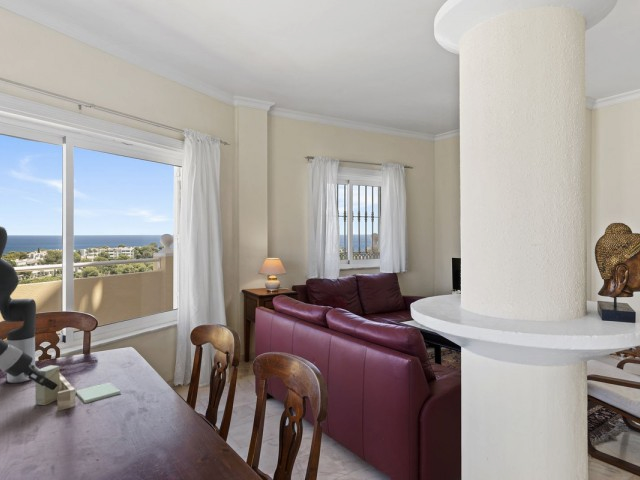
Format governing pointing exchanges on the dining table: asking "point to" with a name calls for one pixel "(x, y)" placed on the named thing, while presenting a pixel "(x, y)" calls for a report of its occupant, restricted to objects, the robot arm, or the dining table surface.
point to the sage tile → (97, 392)
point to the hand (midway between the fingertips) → (52, 384)
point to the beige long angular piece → (65, 395)
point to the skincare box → (43, 392)
